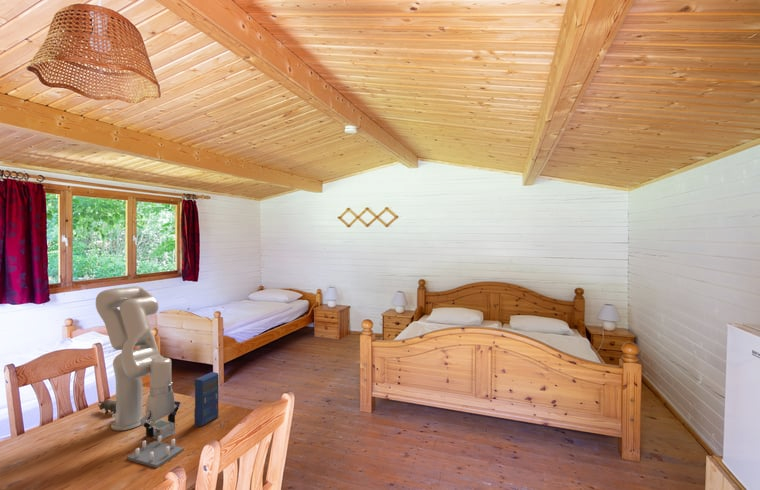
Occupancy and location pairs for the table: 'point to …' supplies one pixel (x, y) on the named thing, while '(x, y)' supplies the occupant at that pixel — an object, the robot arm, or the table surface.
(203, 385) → the electronic device
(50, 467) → the table surface
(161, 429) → the drive
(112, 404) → the rhino figurine
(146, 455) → the grey pegged base plate
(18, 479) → the table surface
